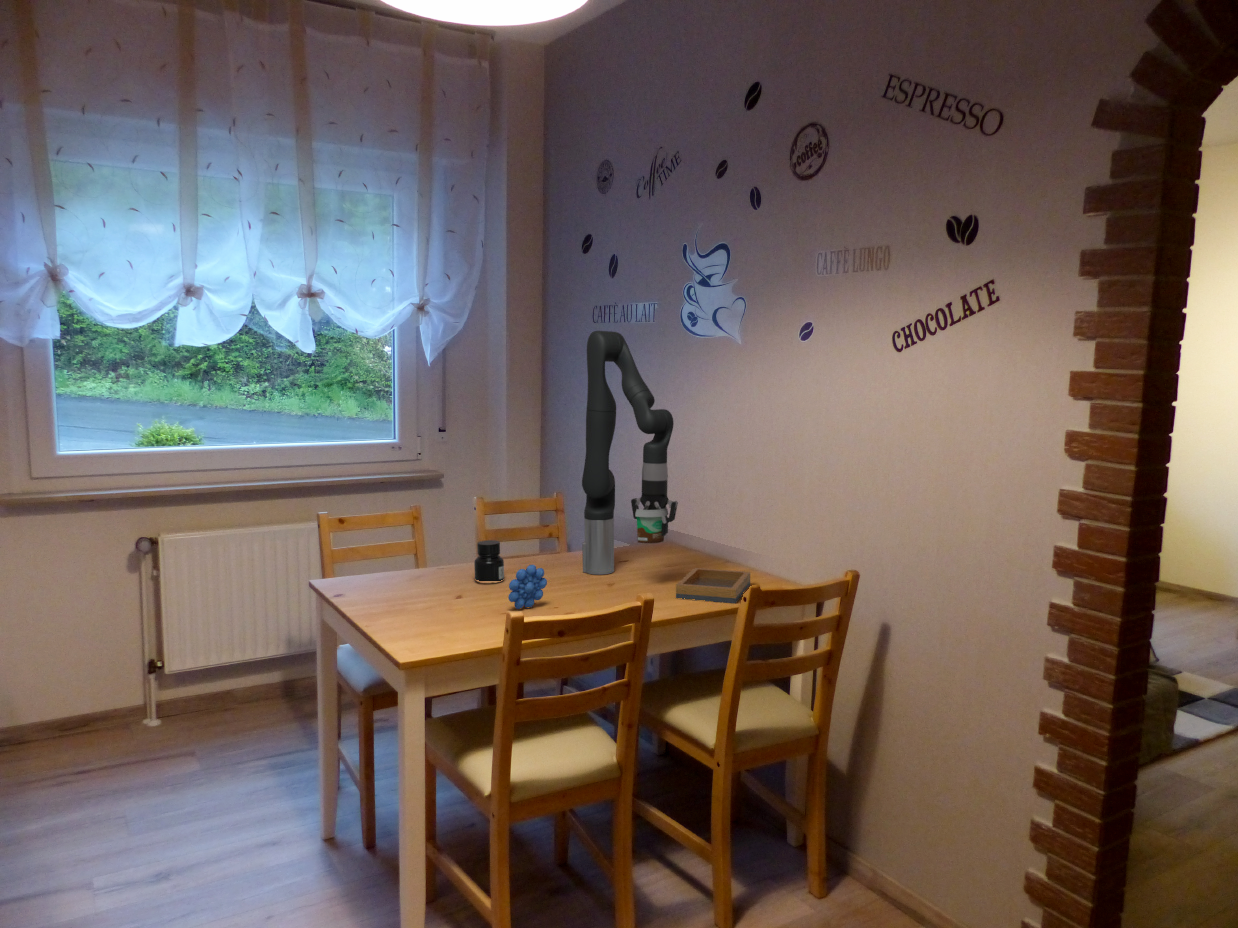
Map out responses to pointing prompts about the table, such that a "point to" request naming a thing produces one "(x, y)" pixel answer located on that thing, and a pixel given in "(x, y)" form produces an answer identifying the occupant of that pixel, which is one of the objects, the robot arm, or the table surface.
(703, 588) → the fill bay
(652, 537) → the food container
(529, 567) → the grapes
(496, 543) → the ink bottle
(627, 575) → the table surface
